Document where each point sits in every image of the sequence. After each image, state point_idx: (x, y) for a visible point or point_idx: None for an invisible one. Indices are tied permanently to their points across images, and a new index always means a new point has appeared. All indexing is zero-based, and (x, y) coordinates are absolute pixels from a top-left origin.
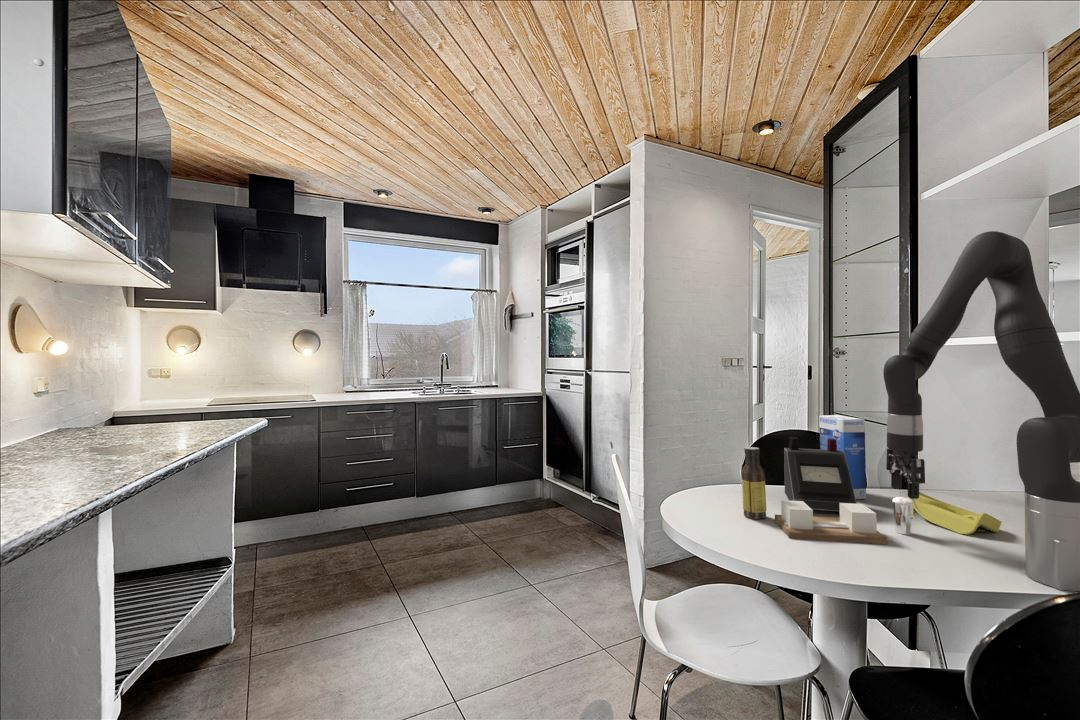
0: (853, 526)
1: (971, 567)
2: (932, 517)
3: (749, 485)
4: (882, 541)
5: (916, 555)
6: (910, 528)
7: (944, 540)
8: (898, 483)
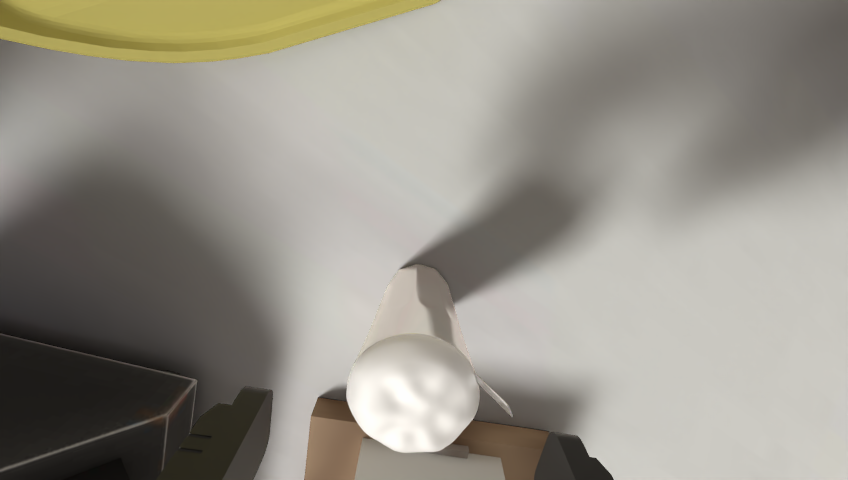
0: None
1: (804, 291)
2: (234, 19)
3: None
4: None
5: (662, 400)
6: (450, 295)
7: (523, 173)
8: (248, 449)
